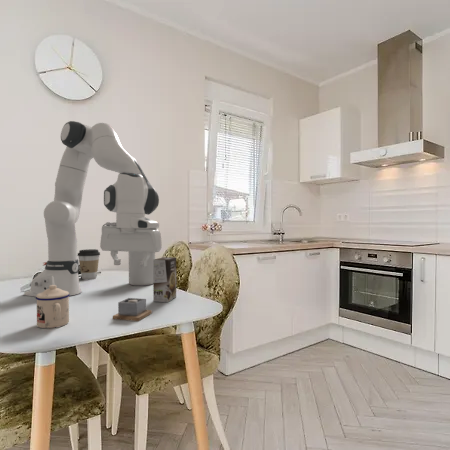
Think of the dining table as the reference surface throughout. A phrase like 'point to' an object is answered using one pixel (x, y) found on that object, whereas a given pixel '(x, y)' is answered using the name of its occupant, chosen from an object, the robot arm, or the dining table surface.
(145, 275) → the cylinder vase
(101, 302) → the dining table surface
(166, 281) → the coffee box
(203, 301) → the dining table surface
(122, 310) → the steel collar
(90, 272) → the coffee cup
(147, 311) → the stand
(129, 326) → the dining table surface
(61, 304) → the teacup with lid
